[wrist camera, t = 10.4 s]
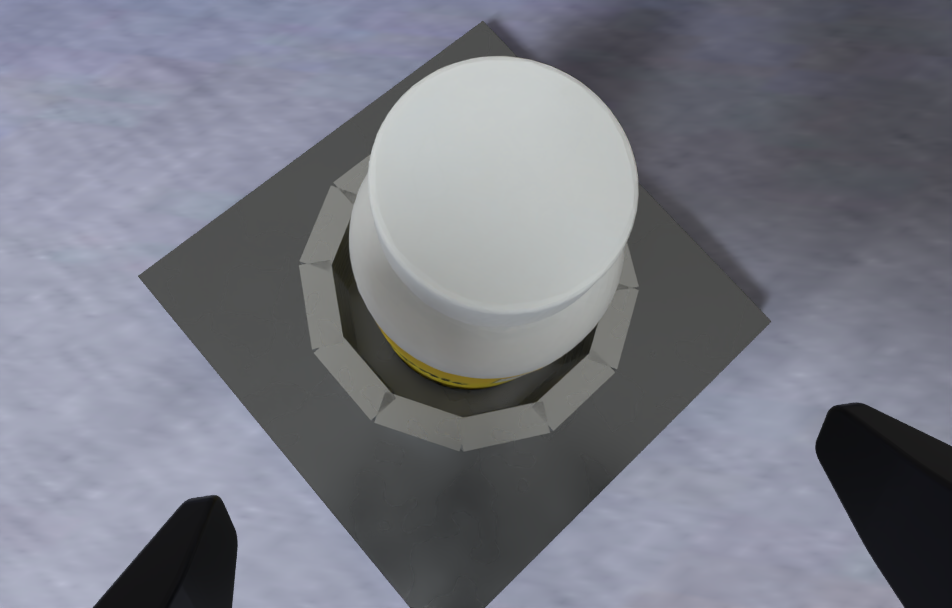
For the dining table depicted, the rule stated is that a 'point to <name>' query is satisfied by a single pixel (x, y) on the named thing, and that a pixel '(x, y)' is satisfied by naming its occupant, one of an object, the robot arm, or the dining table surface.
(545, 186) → the supplement bottle
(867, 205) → the dining table surface
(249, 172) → the dining table surface
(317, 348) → the duct collar
